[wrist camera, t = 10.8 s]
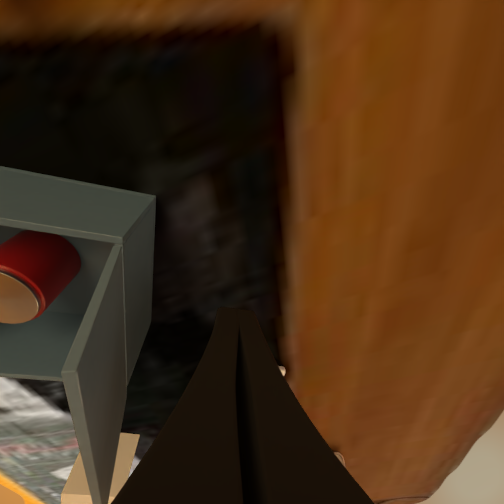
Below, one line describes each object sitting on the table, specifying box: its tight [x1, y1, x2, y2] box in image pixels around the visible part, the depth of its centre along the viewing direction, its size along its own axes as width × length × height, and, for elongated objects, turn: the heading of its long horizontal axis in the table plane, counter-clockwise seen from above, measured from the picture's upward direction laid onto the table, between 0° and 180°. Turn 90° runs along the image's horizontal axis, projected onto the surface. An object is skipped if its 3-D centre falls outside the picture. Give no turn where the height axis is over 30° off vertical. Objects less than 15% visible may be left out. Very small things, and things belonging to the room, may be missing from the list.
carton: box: [0, 166, 156, 386], centre depth 16 cm, size 12×12×6 cm
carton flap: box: [61, 246, 127, 504], centre depth 12 cm, size 6×12×1 cm
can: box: [0, 230, 81, 324], centre depth 16 cm, size 4×4×4 cm
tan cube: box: [61, 433, 140, 504], centre depth 31 cm, size 6×6×6 cm
